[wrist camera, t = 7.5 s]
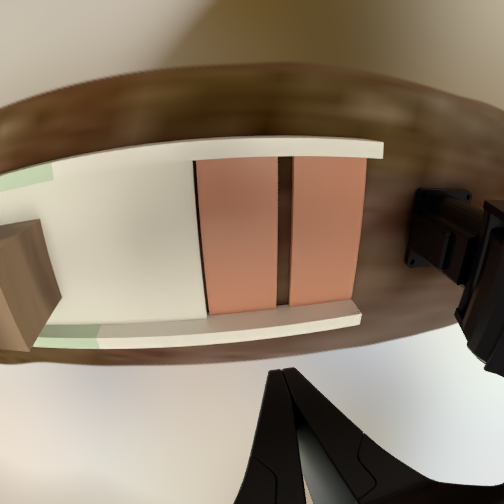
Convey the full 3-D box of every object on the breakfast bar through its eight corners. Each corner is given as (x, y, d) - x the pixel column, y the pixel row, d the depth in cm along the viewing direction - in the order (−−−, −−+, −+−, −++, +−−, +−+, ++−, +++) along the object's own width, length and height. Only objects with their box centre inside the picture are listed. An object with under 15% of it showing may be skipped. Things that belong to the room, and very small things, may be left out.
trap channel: (364, 138, 18) (383, 142, 16) (347, 306, 23) (359, 324, 21) (-38, 186, 14) (-57, 194, 12) (6, 327, 20) (-5, 343, 17)
